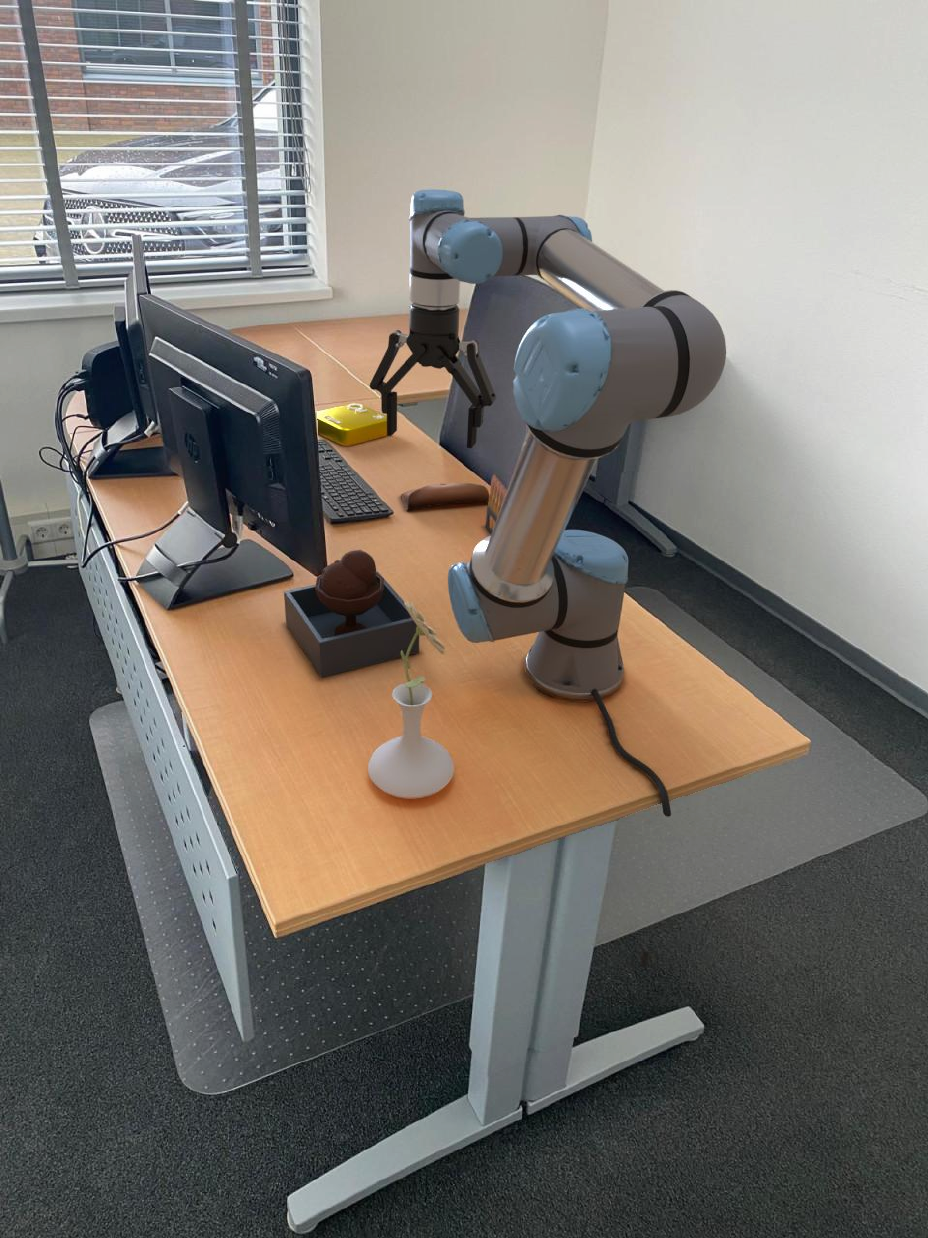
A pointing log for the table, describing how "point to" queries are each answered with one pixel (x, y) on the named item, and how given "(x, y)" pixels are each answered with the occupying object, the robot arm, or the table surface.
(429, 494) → the sunglasses case
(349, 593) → the ice cream bowl
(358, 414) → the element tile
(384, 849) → the table surface
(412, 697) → the flower in vase
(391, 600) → the open square box
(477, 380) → the robot arm
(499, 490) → the ammunition clip
